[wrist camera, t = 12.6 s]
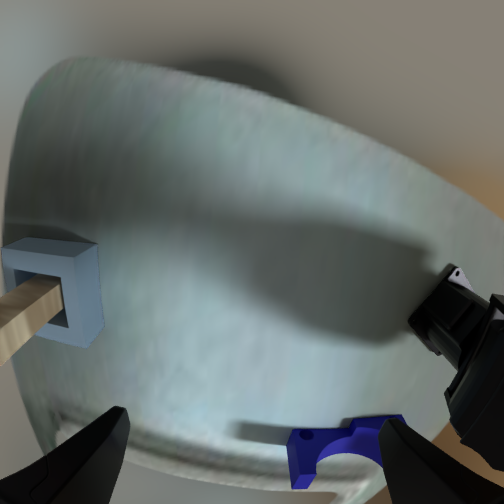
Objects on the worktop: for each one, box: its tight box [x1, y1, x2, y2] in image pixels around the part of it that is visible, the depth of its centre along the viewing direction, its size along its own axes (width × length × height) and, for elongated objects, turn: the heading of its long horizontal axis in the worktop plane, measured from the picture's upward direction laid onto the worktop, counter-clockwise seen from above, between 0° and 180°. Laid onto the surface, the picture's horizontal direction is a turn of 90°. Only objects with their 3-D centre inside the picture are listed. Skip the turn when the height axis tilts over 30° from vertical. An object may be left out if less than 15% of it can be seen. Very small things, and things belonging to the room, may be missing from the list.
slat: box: [0, 273, 65, 367], centre depth 14 cm, size 3×2×13 cm, turn 83°
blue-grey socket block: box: [1, 237, 105, 349], centre depth 19 cm, size 8×7×4 cm
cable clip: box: [286, 414, 407, 489], centre depth 23 cm, size 12×4×6 cm, turn 82°
